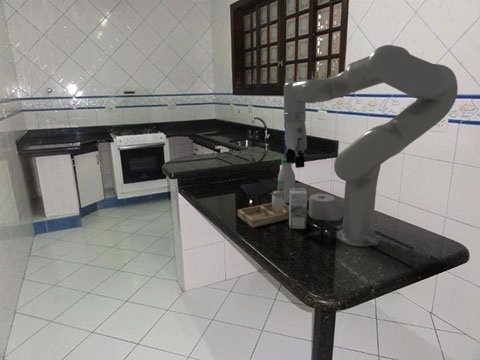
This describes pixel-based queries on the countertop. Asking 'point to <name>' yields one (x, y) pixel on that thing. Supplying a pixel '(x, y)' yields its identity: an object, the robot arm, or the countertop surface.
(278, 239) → the countertop surface
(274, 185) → the dark slate chunk
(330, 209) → the toilet tissue
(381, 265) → the countertop surface
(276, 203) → the shaker
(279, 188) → the milk bottle
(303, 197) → the syrup box
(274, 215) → the caddy
